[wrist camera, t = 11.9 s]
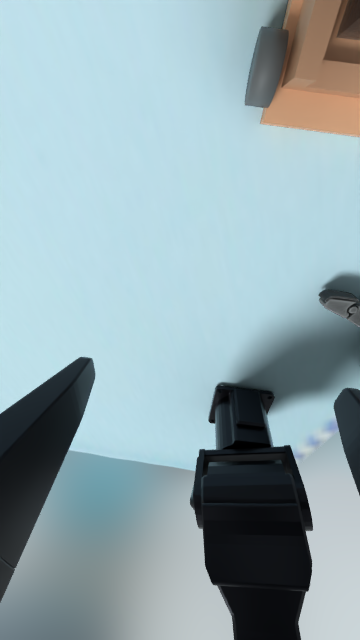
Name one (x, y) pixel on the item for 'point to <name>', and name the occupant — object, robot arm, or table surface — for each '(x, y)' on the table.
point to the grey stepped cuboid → (350, 21)
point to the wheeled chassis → (307, 71)
